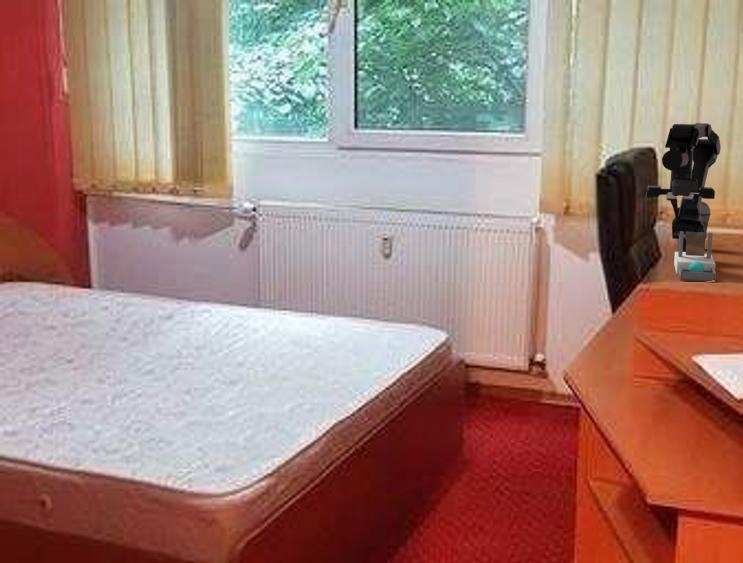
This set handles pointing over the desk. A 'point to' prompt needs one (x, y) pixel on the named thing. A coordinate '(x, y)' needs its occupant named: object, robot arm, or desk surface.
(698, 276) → the tray
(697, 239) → the lever
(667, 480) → the desk surface
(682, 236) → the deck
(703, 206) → the beverage cup
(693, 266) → the ball
